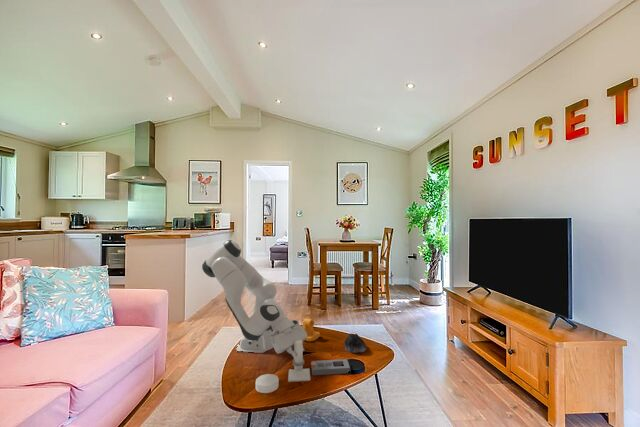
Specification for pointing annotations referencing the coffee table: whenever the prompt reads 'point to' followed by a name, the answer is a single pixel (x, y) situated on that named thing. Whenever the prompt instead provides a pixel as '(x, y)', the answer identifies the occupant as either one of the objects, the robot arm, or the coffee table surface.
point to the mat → (299, 375)
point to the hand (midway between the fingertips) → (299, 353)
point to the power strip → (330, 367)
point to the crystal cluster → (354, 344)
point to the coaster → (267, 383)
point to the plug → (298, 355)
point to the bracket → (310, 330)
